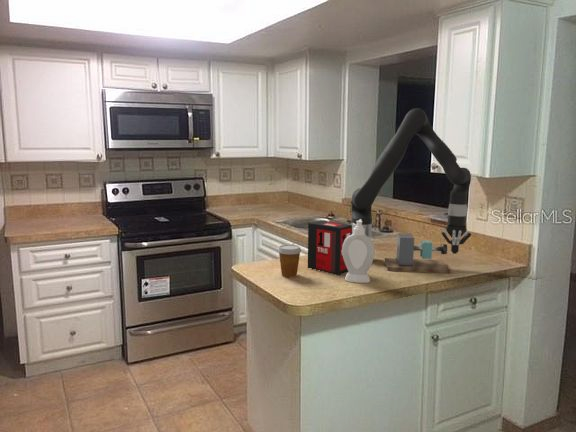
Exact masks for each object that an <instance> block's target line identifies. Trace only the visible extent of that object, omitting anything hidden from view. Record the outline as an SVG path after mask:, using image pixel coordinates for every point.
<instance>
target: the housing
mask: <svg viewBox="0 0 576 432" xmlns="http://www.w3.org/2000/svg"><path fill="white" fill-rule="evenodd" d="M396 237H397V239H396V240H397V241H396V260H397V263H398V265H399V266H413V259H414V251H415V250H414V246H415V237H414V235H413V233H407V232H406V233H404V232H403V233H402V232H398V233H397V236H396Z"/></svg>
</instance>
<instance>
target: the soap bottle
mask: <svg viewBox="0 0 576 432" xmlns="http://www.w3.org/2000/svg"><path fill="white" fill-rule="evenodd" d="M356 222H357V226H355V228H353V234H352V235H349V236H348V237H347V238H346V239H345V240H344V243H343V246H342V255H343V259H344V262H345V264H346V267H347V269H348V272H347V273H345V274H346V275H345V277H344V281H346V282H350V283H354V282H355V283H356V284H369V283H370V282H371V280H370V277H369V274H368V271H369V270H370V268H371V266H372V264H373V261H374V258H375V256H376V255H375V254H376V247H375V244H374V242H373V240H372V238H371V239H370V237H368V236H366V235H365V228H363V226H362V219H360V220H359V221H356Z"/></svg>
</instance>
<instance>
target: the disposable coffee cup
mask: <svg viewBox="0 0 576 432" xmlns="http://www.w3.org/2000/svg"><path fill="white" fill-rule="evenodd" d="M277 251H278V254H279V262H280V263H279V264H280V270H281V271H280V272H281V276H282V275H283V276H282V277H284V276H286V277H285V278H294V276H295V277H297V276H296V275H298V269H299V262H300V253H301V252H302V249H301V247H300V246H299V245H297V244H282V245H279V246H278V249H277Z"/></svg>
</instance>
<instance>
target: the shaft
mask: <svg viewBox="0 0 576 432" xmlns="http://www.w3.org/2000/svg"><path fill="white" fill-rule="evenodd" d="M414 251H419V252H420V251H422V246H421V245H414ZM432 252H440V254H441V255H447V254H448V244H447V243H446V244H445V243H441V244H440V246H433V245H432Z"/></svg>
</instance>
